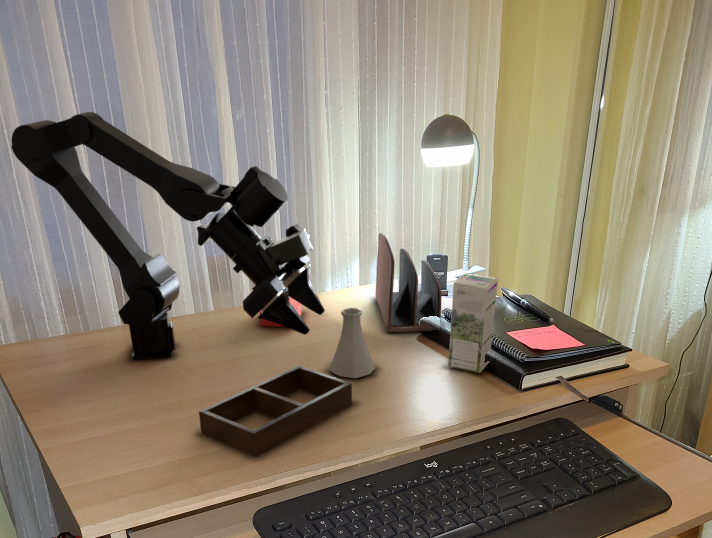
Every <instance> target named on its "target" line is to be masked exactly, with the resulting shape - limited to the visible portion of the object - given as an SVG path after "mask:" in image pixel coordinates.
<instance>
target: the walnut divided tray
mask: <svg viewBox="0 0 712 538" xmlns="http://www.w3.org/2000/svg"><path fill="white" fill-rule="evenodd" d="M352 388H353V383H352V382H350V381H347V380H344V379H341V378H338V377H334V376H332V375H330V374H329V375H328V374H326V373H322V372H319V371H317V370H314V369H311V368H308V367H305V366H302V365H297V366H294V367H292V368H290V369H287V370H286V371H283V372H281V373H279V374H276V375H275V376H272V377H270V378H268V379H265V380H264V381H261V382H259V383H257V384H255V385H253V386H251V387H248V388H246V389H244V390H241V391H239V392H238V393H235V394H233V395H230V396H229V397H226V398H225V399H222V400H220V401H218V402H215V403H213V404H211V405H209V406H207V407H205V408H202V409H200V410H199V411H198V416H199V425H200V432H201V434H202V435H204V436H206V437H208V438H211V439H213V440H215V441H218V442H220V443H222V444H224V445H226V446H227V445H228V446H230V447H233V448H235V449H237V450H239V451H241V452H244V453H246V454H248V455H250V456H253V457H255V458H257V457H258V456H260V455H263V454H264V453H266V452H268V451H269V450H271V449H273V448H276V446H278V445H280V444H282V443H284V442H286V441H288V440H289V439H291V438H293V437H295V436H297V435H299V434H300V433H302V432H304V431H306V430H308V429H310V428H312V427H313V426H315V425H317V424H319V423H321V422H322V421H324V420H327V419H328V418H330V417H331V416H333V415H335V414H337V413H338V412H341V411H342V410H344V409H346V408H348V407H350V406H352V404H353V389H352ZM299 390H302V391H305V392H308V393H311V394H314V395H316V396H317V397H315V398H313V399H311V400H310V401H308V402H306V403H301V402H298V401H296V400H293V399H290V398H288V397H286V396H288V395H290V394H292V393H294V392H297V391H299ZM255 411H256V412H258V413H260V414H262V415H266V416H268V417H270V418H273V419H272V420H271V421H269V422H267V423H264V424H263V425H260V426H259V427H257V428H253V429H252V428H251V427H247V426H245V425H242V424H240V423H237V422H235V421H237V420H239V419H241V418H243V417H245V416H247V415H249V414H251V413H253V412H255Z"/></svg>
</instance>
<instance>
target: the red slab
mask: <svg viewBox="0 0 712 538" xmlns="http://www.w3.org/2000/svg"><path fill="white" fill-rule="evenodd" d="M285 288H286V287H284V288H283V289H282V290H281V291H283V290H284V289H285ZM289 302H290V303H291V305H292V306H293V307H294V308H295V310H296V311H297V312H298V314H299V315H300V316H301V317H302V304H300V303H299V302H297V301H296V300H294V299H293V298H291V297H289ZM262 312H263V311H262V310H261V311H260V312H259V315H260V314H261V313H262ZM259 320H260V323H259V324H260V327H281V328H282V327H284V326H282V325H279V324H276V323H273V322H270V321H268V320H265V319H259ZM284 328H285V327H284Z"/></svg>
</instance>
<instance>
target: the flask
mask: <svg viewBox="0 0 712 538" xmlns="http://www.w3.org/2000/svg"><path fill="white" fill-rule="evenodd" d="M340 315H341V316H342V326H341V327H342V328H341V334H340V337H339V340H338V344H337V346H336V349H335V352H334V354H333V357H332V360H331V362H330V364H329V368H328V370H329V372H331V373H333V374H335V375H336V376H338V377H342V378H343V377H344V378H345V377H346V378H351V379H357V378H360V377H365V376H368V375H370V374H372V372H373V371H374V370H375V369H376V366H375V363H374V360H373V358H372V355H371V353H370V350H369V348H368V345H367V342H366V340H365V337H364V333H363V329H362V322H361V320H362V319H361V316H362V315H363V310H362V309H359V308H357V307H347V308H343V309H342V310H341V311H340Z"/></svg>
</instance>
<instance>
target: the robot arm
mask: <svg viewBox="0 0 712 538" xmlns="http://www.w3.org/2000/svg"><path fill="white" fill-rule="evenodd" d="M82 145H83V146H86V148H89V149H90V150H92V151H93V152H95V153H97V154H98V155H100V156H101V157H103V158H104V159H106V160H107V161H109V162H111V163H113V164H114V165H116V166H118V167H119V168H121V169H122V170H124V171H125V172H127V173H129V175H132V176H133V177H135V178H136V179H138V180H140V181H142V182H143V183H145V184H146V185H148V186H150V187H151V188H152V189H153V190H155V191H156V192H157V193H158V195H159V196H160V198H161V199H162V200H163V202H164V203H165V204H166V205H167V206H168V207H169V208H170V209H171V210H173V211H174V212H175V213H176V214H178V215H179V216H180V217H181V218H182V219H184V220H186V221H187V222H192V223H194V222H198V221H202V220H203V219H205V218H207V217H208V216H210V215H211V214H213V213H216V214H215V215H214V216H213V217H212V218H211V220H210V221H208V223H207V224H206V223H201V224H199V225H198V226H197V227H196V231H197V245H198V246H200V247H202V246H203V245H205V244H207V243H208V242H209V241H212V242H214V243H215V245H217V246H218V248H219V249H220V250H221V251H222V252H223V253H224V255H226V256H227V257H228V258H229V259H230V260H231V262H232V263H233V264H234V265H235V266H234V267H233V268H232V270H233V271H234V272H235V273H236V274H239V273H240V272H242V273H243V274H244V275H245V276H246V277H247V278H248V279H249V281H251V282H252V284H253V285H254V286H253V287H252V288H251V290H252V291H251V292H250V293H249V294H248V295H247V296H246V297H245V298H244V299H243V300H242V310H243V311H244V312H245V313H246V314H247V315H248V316H249V317H250V318H251V319H254V318H255V317H256V316H257V315H258V314H259V315H258V316H257V319H258V320H260V319H265V320H268V321H270V322H273V323H276V324H279V325H282V326H284V328H287V329H289V330H292V331H295V332H297V333H299V334H302V335H308V333H309V332H310V331H311V329H310V327H309V326H308V325H307V323H306V322H305V320H304V319H303V317H302V315H301V316H300V315H299V314H298V312H297V311H296V310H295V308H294V307H293V306H292V305H291V303H290V302H289V298H293V299H294V300H296V301H297V302H299V303H300V304H301V306H304V307H305V308H306V309H308V310H310V311H312V312H314V313H315V314H317V315H319V316H321V315H323V314H324V313H325V312H326V311H325V308H324V306H323V304H322V302H321V300H320V298H319V296H318V294H317V292H316V290H315V289H314V286H313V284H312V282H311V280H310V272H311V268H312V267H311V266H312V265H311V264H310V263H309V262H310V261H311V258H310V257H309V256H308V255H309V252H310V251H313V246H312V243H311V242H310V238H311V234H310V232H308V231H307V230H306V228H305V227H304V228H302V227H301V226H300V225H299V224H298V223H295V224H292V225H290V226H288V228H286V229H285V236H283V237H282V238H280V239H278V240H276V241H274V240H273V239H272V238H271V237H269V236H267V235H265V236H264V237H263V238H262V237H261V236H260V234H259V233H257V231H256V230H255V229H254V228H253V227H259V228H264V227H265V226H266V225H267V223H269V221H271V219H272V218H273V217H274V216H275V215H276V214H277V213H278V212H279V211H280V210H281V209H282V207H284V206H285V205H286V203H288V201H289V195H288V192H287V190H286V189H285V188H284V186H283V185H282V183H281V182H280V181H279V180H278V179H277V178H274V177H273V176H272V175H270V174H269V173H267V172H266V171H263V170H261V169H260V167H259V166H258V165H256V164H254V165H252V166H251V167H250V168H248V169H247V171H246V172H245V174H244V176H243V178H242V179H241V180H240V181H239V182H238V184H236V185H235V186H234V185H229V184H224V183H221V182H218V180H216V178H215V177H214V176H212V175H210V174H207V173H205V172H202V171H201V170H198V169H195V168H193V167H189V166H186V165H183V164H178V163H175V162H173V161H170V160H168V159H167V158H165V157H164V156H162V155H160V154H158V153H157V152H155V151H153V149H150V148H149V147H147V146H146V145H144V144H143V143H141V142H140V141H138V140H137V139H135V138H133V137H131V136H130V135H129V134H127V133H125V132H124V131H122V130H121V129H119V128H117V127H116V126H114V125H113V124H111V123H109V122H107V121H106V120H104V118H103V117H102V116H101V115H100V114H98V113H96V112H94V111H86V112H82V113H77V114H74V115H73V116H71V117H70V118H67V119H64V120H61V121H57V122H56V121H54V120H50V119H45V120H39V121H34V122H31V123H26V124H21V125H19V126H16V128H14V130H13V132H12V135H11V145H10V146H11V147H10V148H11V150H12V153H13V154H14V156H15V159H17V160H18V161H19V162H20V163H21V164H22V166H24V167H25V168H26V169H27V170H28V171H29V172H30V173H31V174H32V175H33V176H35V178H38V179H39V180H41V181H42V182H44V183H45V184H47V185H49V186H50V187H52V188H54V189H55V190H56V191H57V193H59V195H60V196H61V198H63V200H64V202H65V203H66V204H67V205H68V207H69V208H70V209H71V210H72V212H73V213H74V214H75V215H76V217H77V218H78V219H79V220H80V222H81V223H82V224H83V225H84V227H85V228H86V229H87V230H88V232H89V233H90V234H91V236H92V237H93V238H94V240H95V241H96V242H97V244H98V245H99V246H100V247H101V248H102V250H103V251H104V252H105V254H106V255H107V256H108V257H109V259H110V260H111V262H113V264H114V265H115V267H116V268H117V270H118V272H119V276H120V280H121V285H122V287H123V290H124V291H125V293H126V295H127V297H128V298H129V299H128V300H127V301H126V303H124V305H123V306H122V307H121V308H120V309H119V311H118V315H119V317H120V320H121V321H122V324H124V325H128V329H129V334H130V335H129V336H130V339H131V340H130V341H131V346H132V354H131V358H132V360H144V359H145V360H147V359H160V358H161V359H162V358H172V357H173V356H174V355H173V354H174V353H173V352H174V351H175V349H176V337H175V331H174V323H173V321H170V319H169V313H168V312H169V311H171V310H172V308H173V303H174V302H175V301H176V300H177V299H178V297H179V296H180V295H179V294H180V288H181V286H180V281H179V280H178V278H177V277H176V276H177V275H178V272H177V271H175V269H172V267H171V266H170V265H169V263H168V261H167V260H166V258H165V256H164V255H163V254H161V253H157V255H154V256H152V255H150V254H149V253H147V252H145V251H144V250H143V249H142V248H141V247H140V245H139V244H138V243H137V241H136V240H135V239H134V237H132V234H130V232H129V231H128V230H127V229H126V227H125V225H124V224H123V223H122V222H121V220H120V219H119V218H118V217H117V215H116V213H115V212H114V211H113V210H112V209H111V207H110V206H109V204H108V203H106V201H105V200H104V198H103V197H102V196H101V195H100V193H99V191H98V190H97V189H96V188H95V187H94V185H93V183H91V181H90V180H89V178H88V177H87V176H86V175H85V173H84V171H83V170H82V167H81V163H80V158H79V155H78V151H77V150H76V147H79V146H82ZM228 205H230V206H231V207H230V208H229V209H228V210H227V211H226V212H225V213H224V212H219V211H221V210H222V209H224V208H226V207H227V206H228ZM308 263H309V264H308ZM307 264H308V265H307ZM306 265H307V266H306ZM305 266H306V267H305ZM304 267H305V268H304ZM283 288H285V289H284V290H283V291H281V290H282V289H283ZM261 310H262V311H263V312H262V313H261V314H260V311H261ZM282 326H281V327H282Z"/></svg>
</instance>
